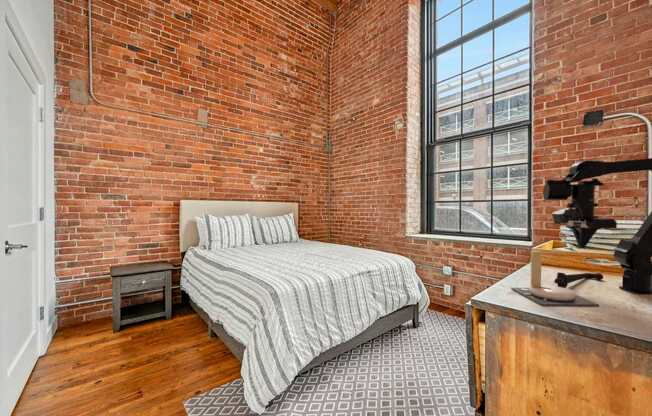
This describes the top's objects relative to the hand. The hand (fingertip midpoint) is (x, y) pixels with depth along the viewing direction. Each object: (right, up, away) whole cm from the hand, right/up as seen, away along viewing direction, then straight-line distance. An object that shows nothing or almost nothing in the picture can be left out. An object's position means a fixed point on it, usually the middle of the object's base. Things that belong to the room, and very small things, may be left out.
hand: (581, 247), depth 98 cm
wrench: (+1, -13, +2) cm, 13 cm away
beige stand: (-16, -14, -9) cm, 23 cm away
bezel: (-16, -14, -9) cm, 23 cm away
